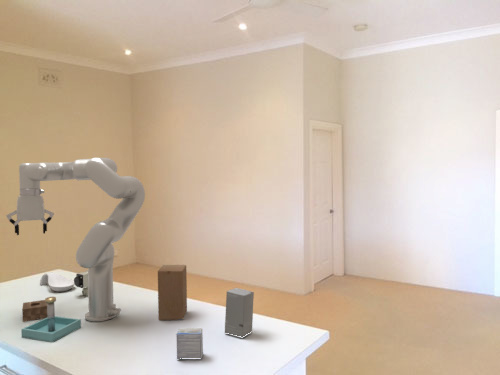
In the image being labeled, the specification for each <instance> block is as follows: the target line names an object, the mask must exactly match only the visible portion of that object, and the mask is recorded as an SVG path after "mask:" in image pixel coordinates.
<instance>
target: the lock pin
mask: <svg viewBox="0 0 500 375" xmlns="http://www.w3.org/2000/svg"><path fill="white" fill-rule="evenodd" d="M44 300H45V303H47V316H48V332H53V331H55V316H56V314H55V312H56V311H55V309H56V308H55V302H56V301H57V297H56V296H48V297H45V298H44Z"/></svg>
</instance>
